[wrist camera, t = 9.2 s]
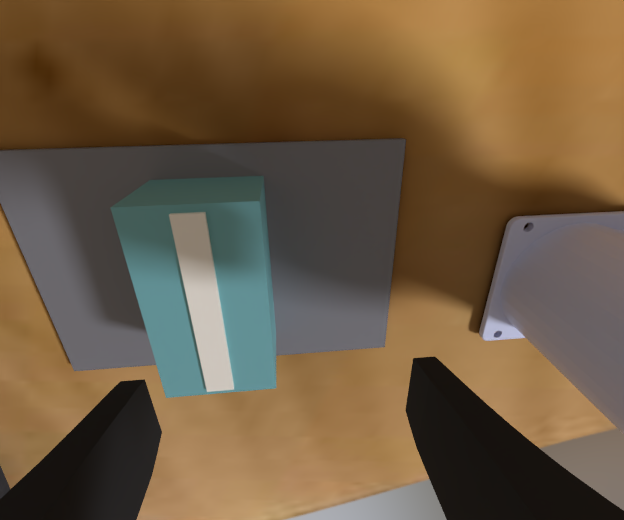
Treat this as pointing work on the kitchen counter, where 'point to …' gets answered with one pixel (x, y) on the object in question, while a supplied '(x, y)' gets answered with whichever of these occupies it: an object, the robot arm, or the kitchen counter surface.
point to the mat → (281, 232)
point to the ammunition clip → (3, 484)
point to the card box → (203, 281)
